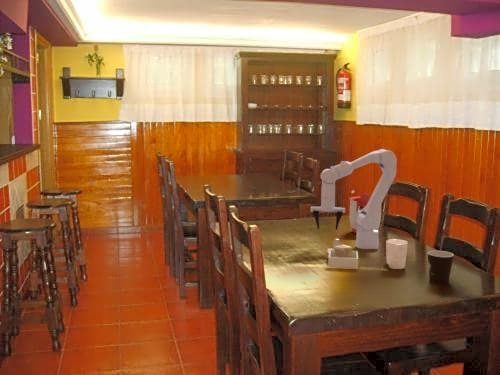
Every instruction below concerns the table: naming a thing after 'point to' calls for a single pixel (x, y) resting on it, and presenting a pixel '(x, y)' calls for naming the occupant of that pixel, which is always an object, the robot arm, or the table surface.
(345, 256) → the socket block
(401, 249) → the white cup
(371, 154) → the robot arm
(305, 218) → the table surface
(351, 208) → the citrus juicer
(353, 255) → the bin
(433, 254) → the coffee mug
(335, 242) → the stud plate
